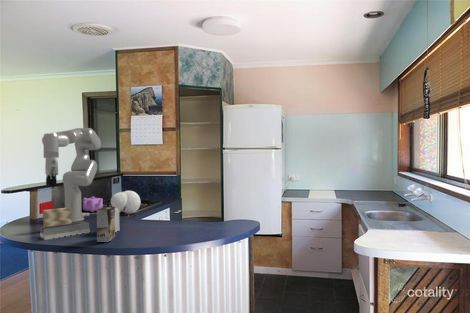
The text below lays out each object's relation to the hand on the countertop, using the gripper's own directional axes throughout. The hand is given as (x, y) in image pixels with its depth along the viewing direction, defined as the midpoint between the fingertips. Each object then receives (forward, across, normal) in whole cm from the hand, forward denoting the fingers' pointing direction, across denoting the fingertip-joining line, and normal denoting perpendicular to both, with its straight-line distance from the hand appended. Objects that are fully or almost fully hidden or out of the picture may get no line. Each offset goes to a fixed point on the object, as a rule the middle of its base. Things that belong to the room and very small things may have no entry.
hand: (51, 185), depth 189 cm
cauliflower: (+24, +17, -50) cm, 58 cm away
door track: (+25, -17, -3) cm, 31 cm away
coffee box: (+26, -43, -16) cm, 53 cm away
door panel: (+25, -3, -3) cm, 25 cm away
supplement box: (+26, -28, -23) cm, 44 cm away
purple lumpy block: (+24, +45, -37) cm, 63 cm away
